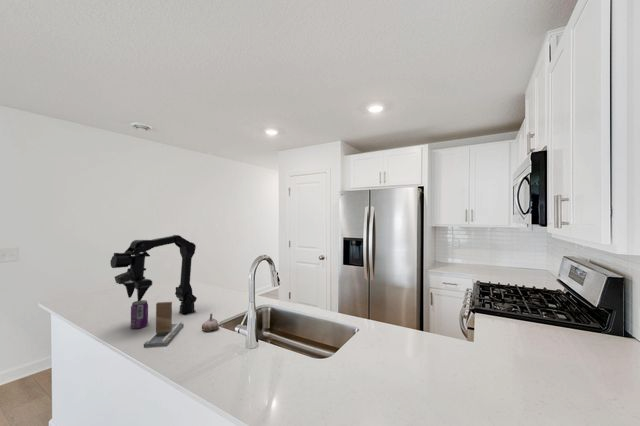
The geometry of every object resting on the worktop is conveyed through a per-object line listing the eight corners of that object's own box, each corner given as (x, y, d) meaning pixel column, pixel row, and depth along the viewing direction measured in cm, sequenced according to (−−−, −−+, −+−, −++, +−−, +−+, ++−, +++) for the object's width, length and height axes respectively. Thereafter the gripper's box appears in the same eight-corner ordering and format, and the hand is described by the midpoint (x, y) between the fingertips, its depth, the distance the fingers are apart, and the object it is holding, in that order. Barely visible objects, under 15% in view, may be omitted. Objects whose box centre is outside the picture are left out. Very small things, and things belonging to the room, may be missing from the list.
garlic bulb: (221, 328, 132) (222, 312, 132) (210, 334, 125) (210, 317, 125) (210, 325, 135) (210, 309, 135) (198, 331, 128) (198, 314, 128)
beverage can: (151, 323, 136) (151, 300, 136) (140, 329, 129) (140, 304, 129) (138, 323, 137) (138, 299, 137) (126, 329, 130) (127, 304, 130)
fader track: (164, 327, 132) (164, 322, 132) (183, 326, 133) (183, 321, 133) (143, 347, 112) (143, 341, 112) (166, 346, 114) (167, 340, 114)
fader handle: (158, 332, 123) (158, 301, 123) (172, 332, 123) (173, 300, 124) (154, 336, 119) (154, 304, 119) (169, 335, 120) (169, 303, 120)
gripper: (109, 265, 128) (105, 299, 127) (127, 270, 119) (124, 306, 118) (134, 263, 138) (132, 294, 137) (154, 267, 128) (151, 301, 127)
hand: (134, 299), depth 129 cm, fingers open, 9 cm apart
